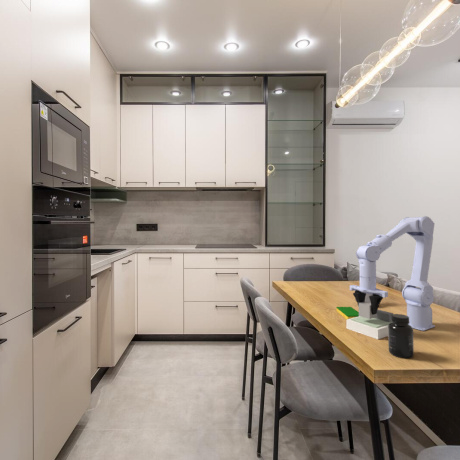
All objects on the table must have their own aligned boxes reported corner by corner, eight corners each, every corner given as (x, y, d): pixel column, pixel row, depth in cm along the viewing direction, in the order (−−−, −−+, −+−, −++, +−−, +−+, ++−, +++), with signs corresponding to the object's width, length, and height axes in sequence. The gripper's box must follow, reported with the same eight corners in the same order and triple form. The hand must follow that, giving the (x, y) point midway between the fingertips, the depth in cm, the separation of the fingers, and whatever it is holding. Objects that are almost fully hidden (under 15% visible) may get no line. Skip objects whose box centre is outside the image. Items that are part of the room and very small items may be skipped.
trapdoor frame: (368, 322, 119) (368, 313, 119) (400, 331, 108) (399, 322, 108) (346, 328, 112) (346, 319, 112) (378, 339, 101) (378, 329, 100)
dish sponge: (347, 321, 122) (347, 315, 122) (336, 311, 136) (336, 306, 136) (363, 321, 122) (363, 315, 122) (351, 311, 136) (351, 306, 136)
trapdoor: (369, 316, 117) (368, 307, 117) (394, 323, 108) (394, 313, 108) (351, 320, 111) (351, 311, 111) (377, 328, 102) (376, 318, 102)
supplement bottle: (404, 349, 92) (404, 312, 92) (418, 358, 86) (418, 319, 86) (383, 349, 92) (383, 312, 92) (396, 359, 85) (396, 319, 85)
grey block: (365, 314, 111) (365, 301, 111) (376, 317, 107) (376, 303, 107) (358, 315, 109) (358, 302, 109) (369, 319, 105) (369, 305, 105)
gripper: (344, 275, 112) (344, 309, 112) (379, 280, 100) (380, 319, 100) (355, 273, 116) (355, 306, 116) (391, 279, 103) (391, 316, 103)
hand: (367, 312), depth 108 cm, fingers closed on grey block, 4 cm apart
